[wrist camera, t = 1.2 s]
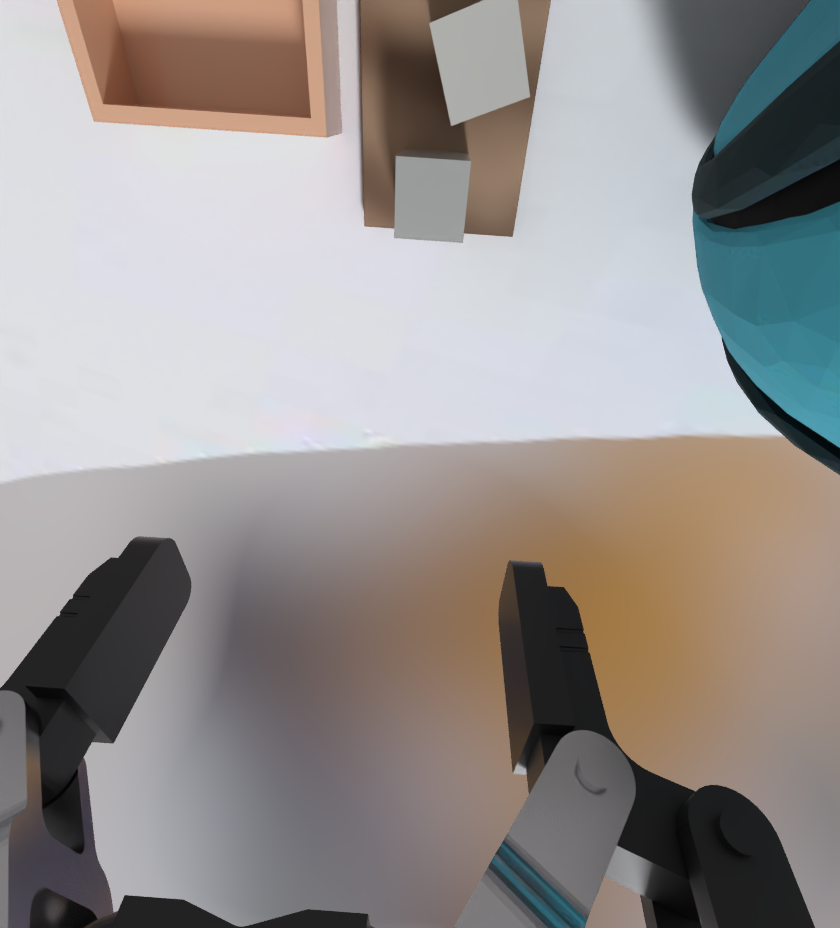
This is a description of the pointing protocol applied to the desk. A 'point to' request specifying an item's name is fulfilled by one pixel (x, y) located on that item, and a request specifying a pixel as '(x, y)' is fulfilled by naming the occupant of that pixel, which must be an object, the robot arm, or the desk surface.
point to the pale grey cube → (481, 58)
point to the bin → (209, 63)
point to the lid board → (439, 111)
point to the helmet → (780, 233)
